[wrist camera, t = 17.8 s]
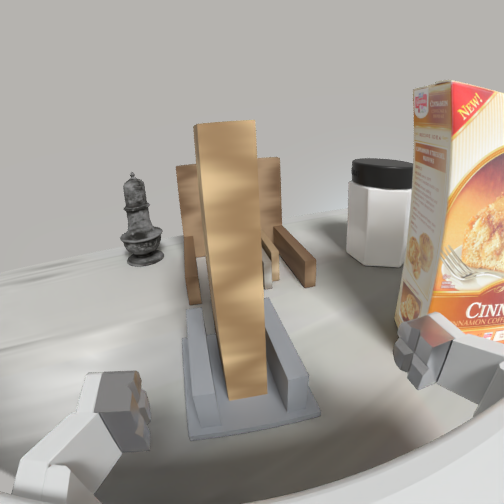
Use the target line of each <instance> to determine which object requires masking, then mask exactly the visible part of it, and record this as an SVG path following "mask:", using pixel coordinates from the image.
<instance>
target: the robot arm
mask: <svg viewBox="0 0 504 504" xmlns="http://www.w3.org/2000/svg"><path fill="white" fill-rule="evenodd" d="M397 334H398V336H399V339H398V340H397V341H396V343H395V345H394V350H393V355H394V360H395V363H396V365H397V366H398V367H399V369H400V370H402V371H405V372H407V378H408V379H409V381H410V382H411V383H412V384H413V385H414V387H415V388H416V389H417V390H420V389H422V388H425V387H427V386H430V385H432V384H435V383H437V384H438V385H440V386H442V387H444V388H446V389H448V390H450V391H452V392H454V393H456V394H458V395H460V396H462V397H464V398H466V399H468V400H470V401H472V402H474V403H476V404H478V407H477V409H476V410H475V412H474V415H473V418H471V419H470V420H468V421H467V422H465V423H463V424H462V425H460V426H458V427H456V428H455V429H453V430H451V431H449V432H448V433H446V434H444V435H442V436H440V437H438V438H437V439H435V440H433V441H431V442H429V443H427V444H425V445H423V446H421V447H419V448H417V449H415V450H413V451H411V452H409V453H406V454H404V455H402V456H400V457H398V458H395V459H393V460H391V461H388V462H386V463H384V464H381V465H379V466H376V467H374V468H371V469H369V470H366V471H363V472H361V473H358V474H355V475H352V476H349V477H346V478H344V479H341V480H337V481H334V482H331V483H328V484H325V485H321V486H318V487H315V488H311V489H307V490H304V491H300V492H296V493H292V494H288V495H284V496H279V497H275V498H270V499H265V500H260V501H255V502H249V503H243V504H504V344H503V343H499V342H496V341H492V340H489V339H486V338H482V337H479V336H475V335H472V334H465V333H463V332H462V331H461V330H460V329H459V328H457V327H456V326H455V325H454V324H453V323H451V322H450V321H449V320H448V319H447V318H445V317H444V316H443V315H442V314H441V313H439V312H433V313H430V314H427V315H424V316H422V317H418V318H415V319H412V320H409V321H405V322H402V323H401V324H400V326H399V328H398V332H397ZM141 381H142V380H141V378H140V375H139V373H138V372H137V371H115V372H89V373H88V374H87V375H86V376H85V380H84V383H83V387H82V390H81V394H80V397H79V401H78V405H77V409H76V413H70V414H69V415H68V416H67V417H66V418H65V419H64V420H62V421H61V422H60V423H59V424H58V425H57V426H56V427H55V428H54V429H53V430H51V431H50V432H49V433H48V434H47V435H46V436H45V437H44V438H43V439H42V440H41V441H39V442H38V443H37V444H36V445H35V446H34V447H33V448H32V449H31V450H30V451H28V452H27V453H26V454H25V455H24V456H23V457H22V458H21V459H20V463H19V466H18V470H17V474H16V478H15V482H14V486H13V490H12V494H7V493H4V492H0V504H102V503H101V502H100V501H99V500H98V499H97V498H96V497H95V496H94V494H95V492H96V491H97V489H98V488H99V487H100V485H101V484H102V482H103V481H104V479H105V478H106V476H107V475H108V474H109V472H110V471H111V469H112V468H113V466H114V465H115V464H116V462H117V461H118V459H119V458H120V456H121V455H122V453H121V452H139V451H150V431H149V429H148V427H147V425H148V423H149V422H150V418H151V413H150V405H149V400H148V397H147V394H146V391H144V390H143V389H142V388H141Z"/></svg>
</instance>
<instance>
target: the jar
mask: <svg viewBox="0 0 504 504" xmlns="http://www.w3.org/2000/svg"><path fill="white" fill-rule="evenodd" d="M412 178H413V164H412V163H409V162H404V161H397V160H389V159H370V158H368V159H366V158H365V159H355V160H353V162H352V181H350V182H349V190H348V222H347V243H346V252H347V253H348V254H350V255H351V256H352V257H354V258H355V259H356V260H358V261H359V262H360V263H362V264H363V265H365V266H381V267H400V266H401V265H402V264H403V263H404V259H405V252H406V244H407V236H408V227H409V217H410V206H411V193H412Z"/></svg>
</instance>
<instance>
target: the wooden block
mask: <svg viewBox="0 0 504 504" xmlns="http://www.w3.org/2000/svg"><path fill="white" fill-rule="evenodd" d="M193 128H194V142H195V154H196V166H197V177H198V188H199V198H200V208H201V218H202V228H203V237H204V246H205V254H206V263H207V271H208V279H209V287H210V295H211V302H212V310H213V317H214V324H215V331H216V338H217V345H218V350H219V355H220V360H221V365H222V370H223V375H224V380H225V384H226V389H227V394H228V398H229V401H231V400H237V399H243V398H248V397H254V396H259V395H265V394H268V393H267V366H266V340H265V315H264V291H263V269H262V247H261V225H260V205H259V185H258V165H257V146H256V128H255V120H243V121H227V122H215V123H203V124H196V125H195V126H194V127H193Z"/></svg>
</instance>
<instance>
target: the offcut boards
mask: <svg viewBox="0 0 504 504" xmlns="http://www.w3.org/2000/svg"><path fill="white" fill-rule="evenodd" d="M261 247H262V269H263V287H264V289H270V288H272V281H277V280H279V251H278V249H277V248H276V247H275V246H274V244H273V243H272V242H271V240H270V239H269V238H268V237H267V235H266V234H265V233H264V231H263V230H262V229H261Z"/></svg>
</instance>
